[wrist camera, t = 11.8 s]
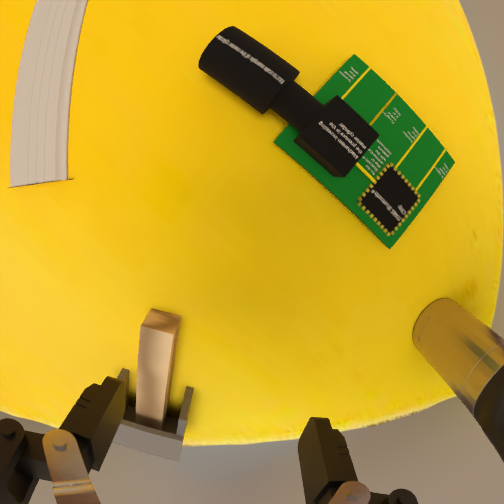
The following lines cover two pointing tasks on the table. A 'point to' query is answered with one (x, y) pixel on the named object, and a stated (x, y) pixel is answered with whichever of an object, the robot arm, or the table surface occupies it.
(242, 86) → the electronic board model
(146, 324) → the slat
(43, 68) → the baseboard molding
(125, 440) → the end cap
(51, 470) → the robot arm
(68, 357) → the table surface
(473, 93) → the table surface
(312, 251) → the table surface
